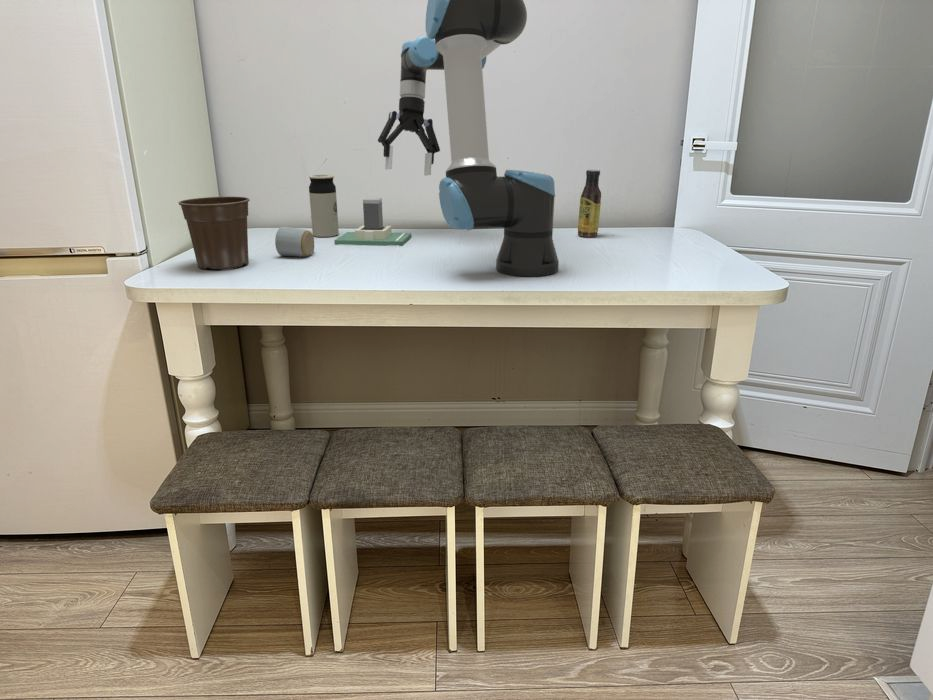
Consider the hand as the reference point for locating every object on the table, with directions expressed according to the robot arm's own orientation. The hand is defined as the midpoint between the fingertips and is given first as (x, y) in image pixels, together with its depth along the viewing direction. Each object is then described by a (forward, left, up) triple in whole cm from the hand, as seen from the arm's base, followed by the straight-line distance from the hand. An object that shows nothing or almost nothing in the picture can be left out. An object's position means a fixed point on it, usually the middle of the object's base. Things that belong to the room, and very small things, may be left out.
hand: (408, 172), depth 195 cm
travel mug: (-3, +26, -19) cm, 33 cm away
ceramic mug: (-32, +25, -19) cm, 45 cm away
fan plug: (-10, +9, -18) cm, 22 cm away
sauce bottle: (+4, -55, -19) cm, 58 cm away
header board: (-10, +9, -19) cm, 23 cm away
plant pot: (-46, +39, -19) cm, 63 cm away
